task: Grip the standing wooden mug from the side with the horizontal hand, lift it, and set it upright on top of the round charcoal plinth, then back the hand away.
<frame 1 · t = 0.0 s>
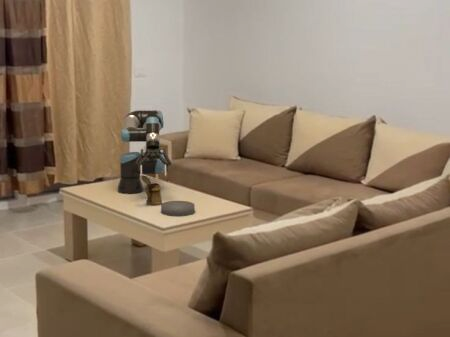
hand: (153, 176, 420), 15 cm above the table, tool tilted 35°, fingers open, 13 cm apart
charcoal plinth: (177, 211, 404), on the table
wooden mug: (151, 204, 419), on the table
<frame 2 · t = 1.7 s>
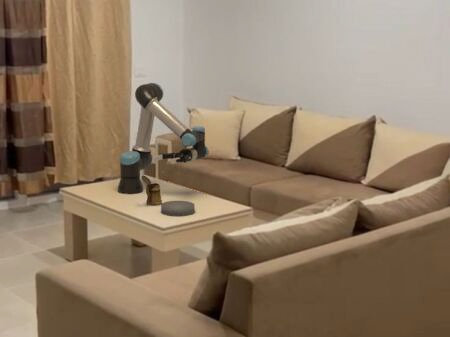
hand: (162, 160, 421), 24 cm above the table, tool horizontal, fingers open, 13 cm apart
nothing on the table moved.
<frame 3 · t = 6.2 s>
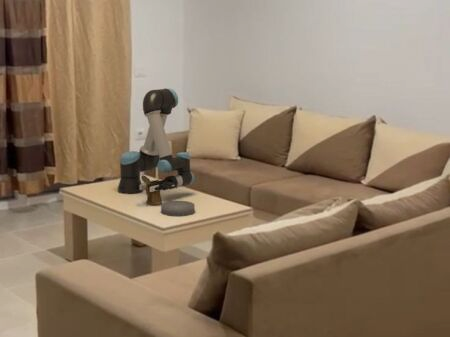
hand: (145, 188, 413), 10 cm above the table, tool horizontal, fingers closed on wooden mug, 7 cm apart
wooden mug: (151, 204, 419), on the table, touching gripper
when the fingers open (16 cm above the table, at t = 11.8 s): wooden mug drops 1 cm, resting on charcoal plinth.
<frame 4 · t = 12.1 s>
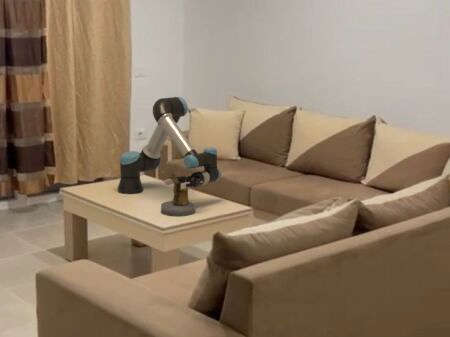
hand: (172, 184, 397), 16 cm above the table, tool horizontal, fingers open, 11 cm apart
wooden mug: (177, 204, 403), point 4 cm above the table, touching charcoal plinth
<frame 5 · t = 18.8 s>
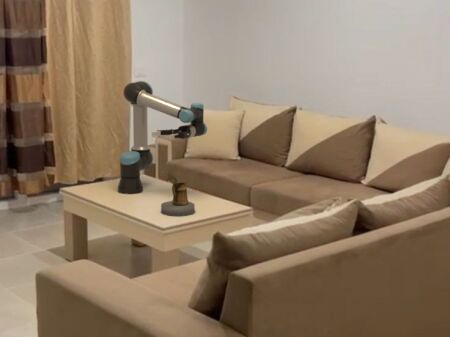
hand: (160, 135, 417), 38 cm above the table, tool horizontal, fingers open, 13 cm apart
at the end: wooden mug inside the target area on the charcoal plinth (0.4 cm from its centre), point 3.8 cm above the charcoal plinth's base; wooden mug tilted 0°; the gripper is holding nothing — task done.
